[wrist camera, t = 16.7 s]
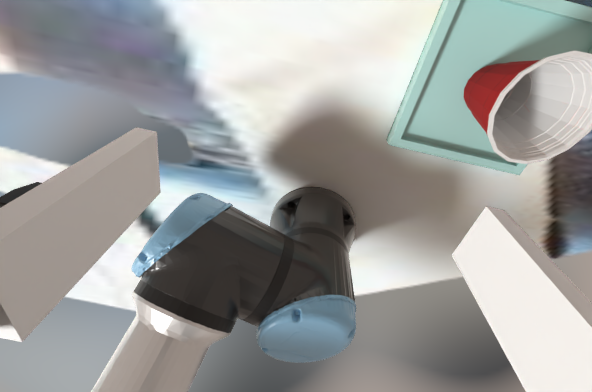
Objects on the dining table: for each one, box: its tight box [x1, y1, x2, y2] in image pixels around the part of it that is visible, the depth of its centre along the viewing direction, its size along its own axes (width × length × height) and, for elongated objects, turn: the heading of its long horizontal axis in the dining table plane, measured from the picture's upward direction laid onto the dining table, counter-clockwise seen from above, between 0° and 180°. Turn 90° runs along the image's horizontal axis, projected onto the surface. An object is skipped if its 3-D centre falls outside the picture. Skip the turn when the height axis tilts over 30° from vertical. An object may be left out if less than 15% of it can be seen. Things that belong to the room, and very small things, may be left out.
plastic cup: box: [464, 51, 592, 164], centre depth 32 cm, size 11×11×12 cm
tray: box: [387, 0, 592, 175], centre depth 37 cm, size 20×20×2 cm
